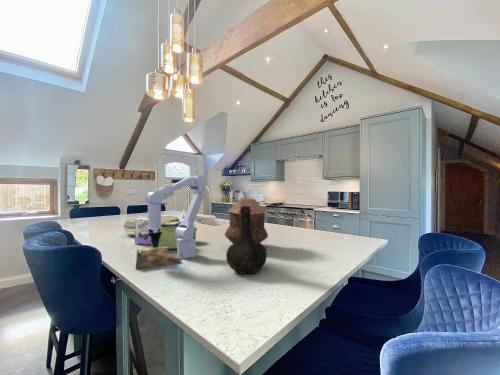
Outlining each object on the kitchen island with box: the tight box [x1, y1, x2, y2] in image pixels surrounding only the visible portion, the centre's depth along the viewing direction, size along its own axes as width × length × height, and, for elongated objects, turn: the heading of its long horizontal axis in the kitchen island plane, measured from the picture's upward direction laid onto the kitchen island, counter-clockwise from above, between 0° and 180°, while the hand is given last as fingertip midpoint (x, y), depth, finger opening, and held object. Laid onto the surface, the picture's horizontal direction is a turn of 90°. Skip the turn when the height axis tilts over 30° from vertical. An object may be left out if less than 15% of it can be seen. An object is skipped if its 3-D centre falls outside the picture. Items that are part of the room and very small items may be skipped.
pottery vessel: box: [224, 197, 269, 244], centre depth 139 cm, size 26×26×30 cm
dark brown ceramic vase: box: [225, 206, 268, 274], centre depth 103 cm, size 18×18×28 cm
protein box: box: [151, 221, 182, 252], centre depth 141 cm, size 10×16×16 cm
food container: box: [192, 226, 198, 240], centre depth 155 cm, size 12×6×10 cm, turn 168°
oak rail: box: [140, 246, 169, 261], centre depth 112 cm, size 12×4×5 cm, turn 115°
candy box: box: [134, 217, 152, 246], centre depth 154 cm, size 14×6×16 cm, turn 80°
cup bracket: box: [136, 249, 147, 263], centre depth 109 cm, size 4×6×4 cm
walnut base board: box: [135, 253, 180, 270], centre depth 112 cm, size 19×7×2 cm, turn 115°
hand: (154, 245), depth 112 cm, fingers open, 7 cm apart
